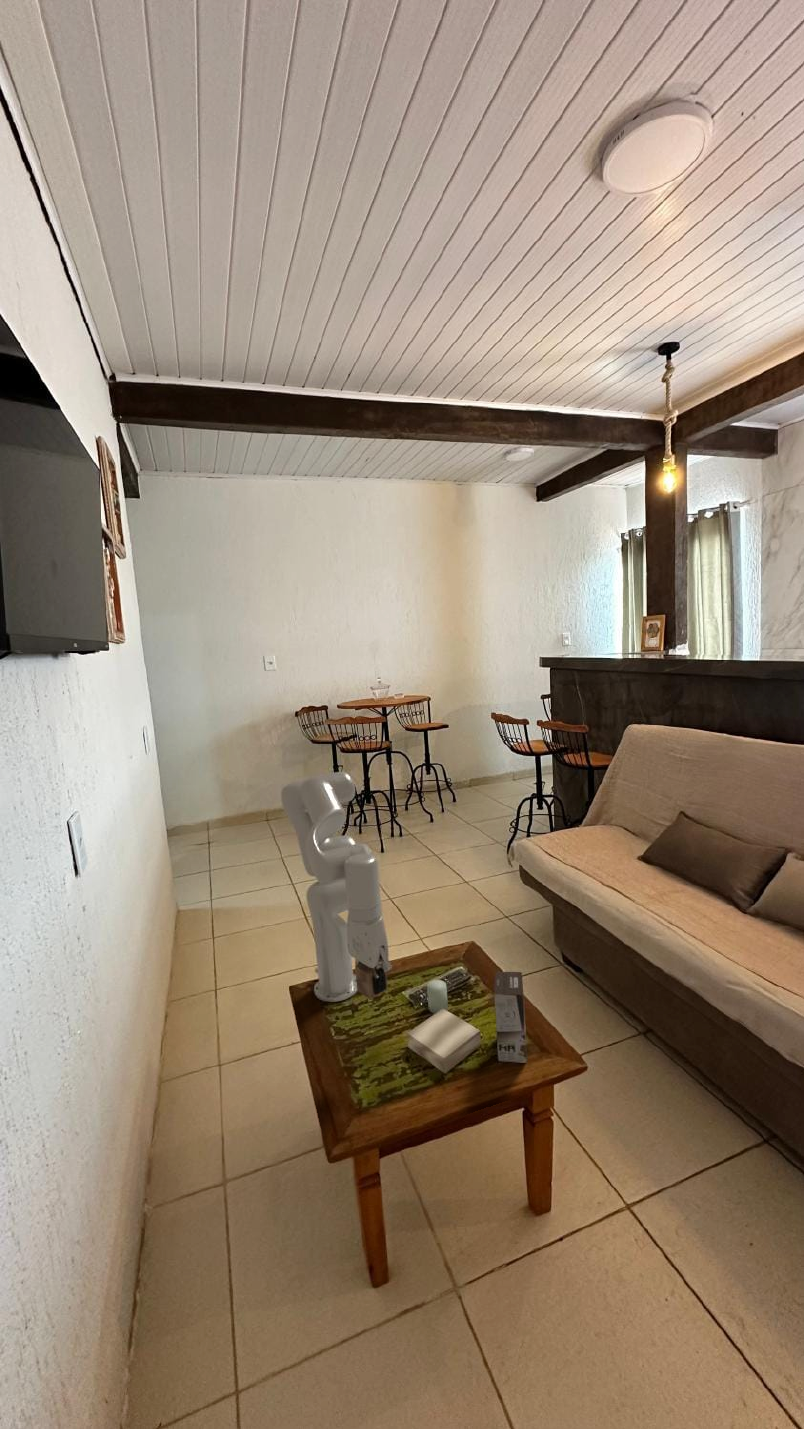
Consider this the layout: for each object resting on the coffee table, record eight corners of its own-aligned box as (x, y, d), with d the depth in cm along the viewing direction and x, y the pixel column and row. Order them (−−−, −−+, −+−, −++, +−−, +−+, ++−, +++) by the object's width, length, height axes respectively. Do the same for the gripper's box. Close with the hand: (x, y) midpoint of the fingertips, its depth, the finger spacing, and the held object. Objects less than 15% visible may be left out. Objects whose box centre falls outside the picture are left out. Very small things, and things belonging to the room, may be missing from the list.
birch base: (408, 1048, 131) (407, 1033, 130) (444, 1023, 138) (443, 1008, 138) (445, 1075, 122) (444, 1058, 121) (481, 1046, 129) (480, 1030, 129)
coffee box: (527, 1063, 122) (523, 995, 120) (497, 1061, 124) (493, 994, 122) (526, 1035, 131) (522, 971, 129) (499, 1033, 133) (494, 970, 131)
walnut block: (357, 990, 127) (354, 965, 126) (374, 980, 130) (372, 956, 129) (370, 999, 123) (368, 974, 122) (388, 989, 126) (385, 964, 125)
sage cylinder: (424, 1007, 144) (422, 986, 144) (438, 998, 148) (436, 977, 147) (438, 1016, 141) (436, 994, 140) (451, 1006, 144) (450, 985, 143)
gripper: (330, 905, 128) (337, 978, 131) (375, 929, 115) (382, 1010, 118) (356, 894, 133) (363, 965, 135) (402, 915, 120) (409, 994, 122)
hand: (372, 985), depth 126 cm, fingers closed on walnut block, 5 cm apart
